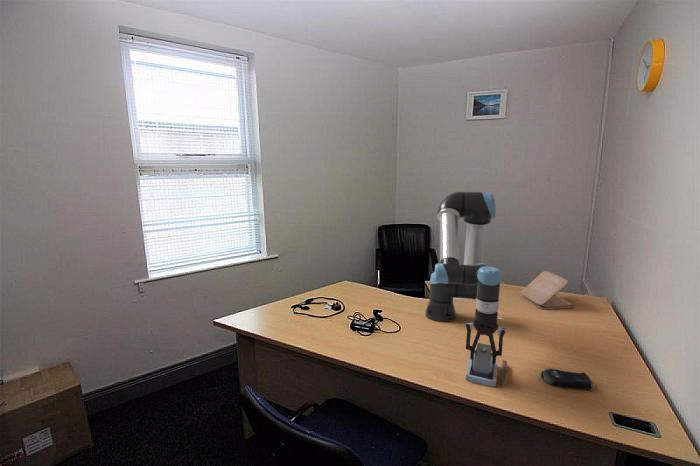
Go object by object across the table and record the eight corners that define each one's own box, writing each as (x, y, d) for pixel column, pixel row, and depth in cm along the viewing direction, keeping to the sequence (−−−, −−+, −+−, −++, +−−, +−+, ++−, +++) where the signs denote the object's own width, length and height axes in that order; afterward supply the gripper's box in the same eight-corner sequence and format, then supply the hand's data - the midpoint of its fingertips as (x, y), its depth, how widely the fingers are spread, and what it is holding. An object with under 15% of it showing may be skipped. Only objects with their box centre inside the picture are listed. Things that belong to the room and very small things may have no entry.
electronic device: (581, 380, 132) (537, 370, 135) (586, 368, 130) (541, 358, 133) (590, 399, 124) (544, 387, 126) (596, 386, 122) (548, 375, 124)
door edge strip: (501, 384, 127) (501, 379, 126) (502, 364, 139) (502, 360, 139) (505, 385, 126) (506, 380, 126) (506, 365, 139) (507, 360, 138)
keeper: (465, 380, 129) (465, 375, 129) (470, 360, 143) (470, 355, 142) (495, 387, 125) (495, 382, 125) (497, 365, 139) (497, 361, 138)
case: (518, 296, 212) (520, 270, 209) (551, 295, 214) (554, 269, 211) (540, 310, 192) (543, 282, 189) (576, 309, 194) (580, 280, 191)
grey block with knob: (476, 362, 139) (477, 341, 138) (490, 364, 137) (491, 343, 136) (473, 375, 130) (475, 353, 129) (488, 378, 128) (490, 356, 127)
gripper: (459, 309, 130) (455, 368, 134) (514, 318, 122) (508, 380, 127) (461, 302, 136) (458, 359, 141) (514, 310, 129) (508, 369, 134)
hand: (482, 369), depth 134 cm, fingers closed on grey block with knob, 5 cm apart
